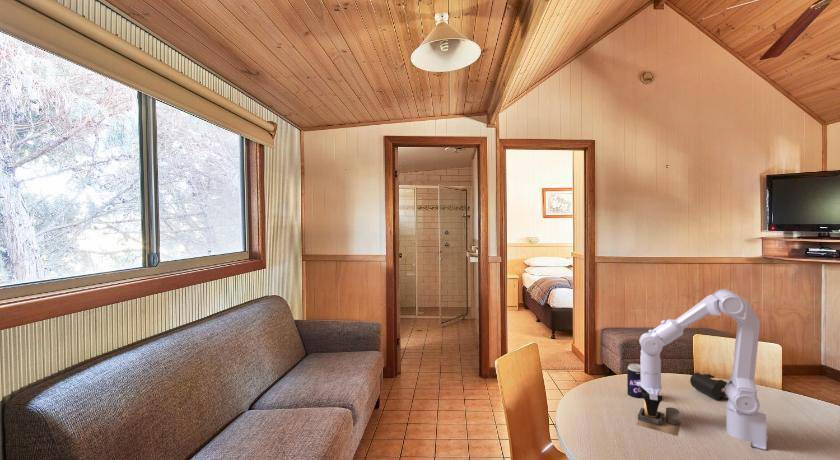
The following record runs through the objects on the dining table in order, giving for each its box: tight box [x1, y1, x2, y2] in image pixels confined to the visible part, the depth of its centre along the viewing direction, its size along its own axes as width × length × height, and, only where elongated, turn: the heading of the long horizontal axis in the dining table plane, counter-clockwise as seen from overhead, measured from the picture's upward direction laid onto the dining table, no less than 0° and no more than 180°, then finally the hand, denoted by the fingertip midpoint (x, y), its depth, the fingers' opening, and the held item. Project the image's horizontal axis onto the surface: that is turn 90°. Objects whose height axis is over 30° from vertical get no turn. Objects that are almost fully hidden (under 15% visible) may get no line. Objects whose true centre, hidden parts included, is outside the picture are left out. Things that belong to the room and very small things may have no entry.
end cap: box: [689, 372, 729, 402], centre depth 146 cm, size 10×7×7 cm
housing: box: [636, 407, 682, 437], centre depth 125 cm, size 11×10×5 cm
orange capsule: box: [643, 400, 657, 419], centre depth 127 cm, size 4×4×6 cm
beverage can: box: [626, 362, 644, 399], centre depth 145 cm, size 6×6×12 cm
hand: (651, 412), depth 127 cm, fingers closed on orange capsule, 3 cm apart
